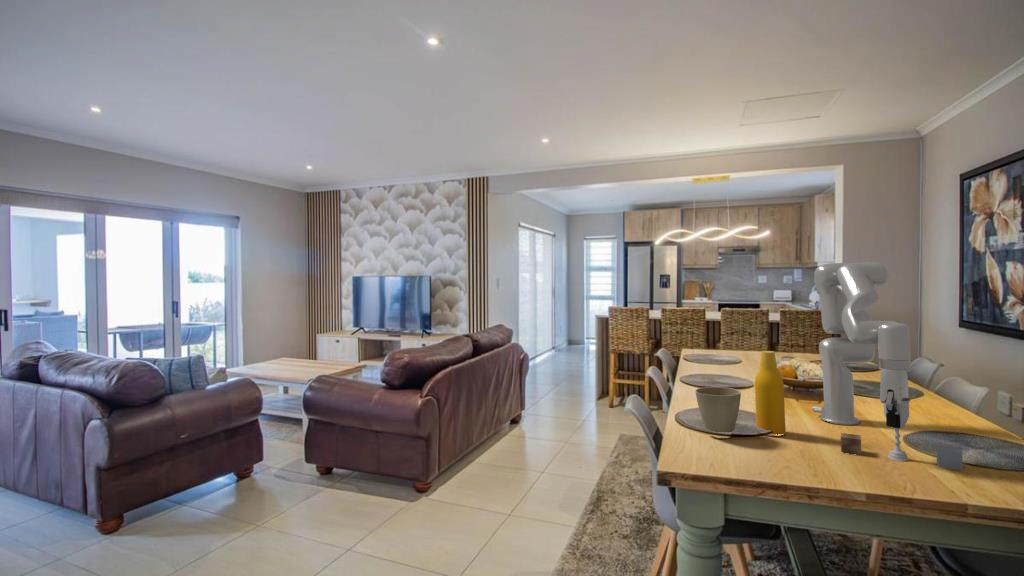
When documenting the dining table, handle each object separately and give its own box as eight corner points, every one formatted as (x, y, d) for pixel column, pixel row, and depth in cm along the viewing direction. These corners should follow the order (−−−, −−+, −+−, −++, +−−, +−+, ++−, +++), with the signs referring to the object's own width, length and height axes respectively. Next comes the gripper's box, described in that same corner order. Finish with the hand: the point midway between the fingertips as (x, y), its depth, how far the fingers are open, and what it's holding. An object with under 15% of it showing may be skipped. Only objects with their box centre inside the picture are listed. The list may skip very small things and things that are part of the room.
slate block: (938, 467, 136) (938, 449, 136) (936, 461, 140) (936, 444, 140) (962, 470, 133) (962, 452, 133) (960, 464, 137) (959, 447, 137)
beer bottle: (779, 438, 164) (776, 354, 165) (751, 433, 171) (748, 352, 171) (789, 432, 171) (786, 351, 171) (762, 427, 177) (759, 349, 178)
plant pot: (737, 430, 175) (735, 386, 175) (747, 443, 161) (745, 396, 161) (694, 429, 179) (692, 386, 179) (700, 441, 164) (698, 395, 164)
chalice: (918, 463, 139) (916, 401, 139) (892, 462, 140) (889, 400, 140) (903, 454, 146) (901, 395, 146) (878, 453, 147) (876, 395, 147)
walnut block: (841, 453, 149) (840, 437, 149) (841, 448, 153) (841, 432, 153) (861, 455, 146) (860, 439, 146) (861, 451, 150) (860, 435, 150)
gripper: (887, 360, 151) (889, 417, 151) (870, 367, 141) (872, 428, 141) (918, 362, 146) (920, 421, 146) (902, 370, 135) (904, 434, 135)
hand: (896, 424), depth 143 cm, fingers closed on chalice, 6 cm apart
